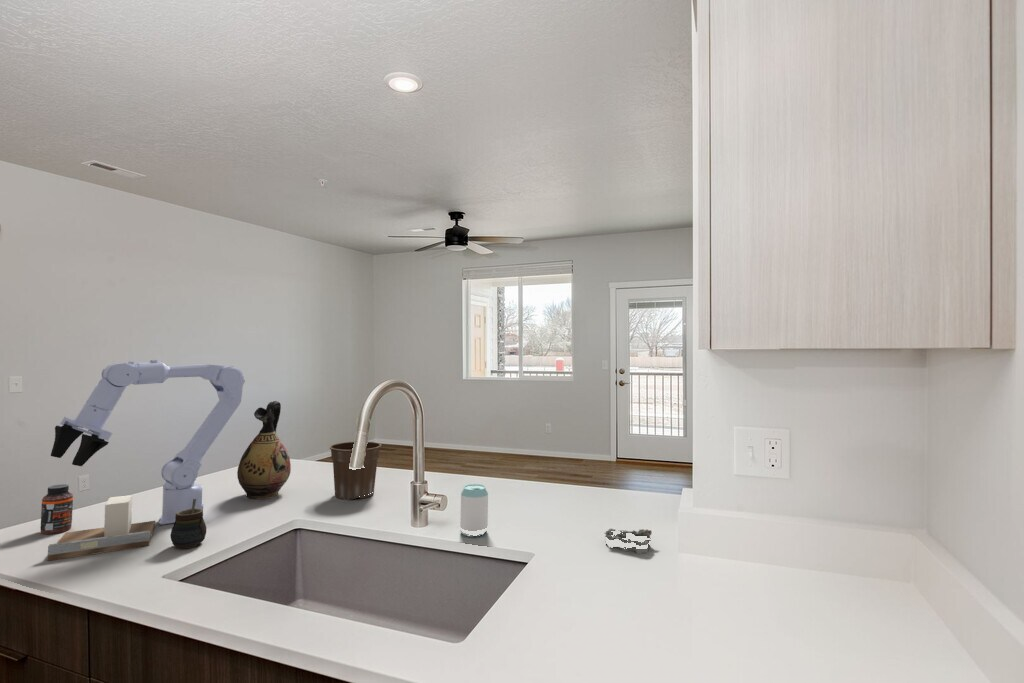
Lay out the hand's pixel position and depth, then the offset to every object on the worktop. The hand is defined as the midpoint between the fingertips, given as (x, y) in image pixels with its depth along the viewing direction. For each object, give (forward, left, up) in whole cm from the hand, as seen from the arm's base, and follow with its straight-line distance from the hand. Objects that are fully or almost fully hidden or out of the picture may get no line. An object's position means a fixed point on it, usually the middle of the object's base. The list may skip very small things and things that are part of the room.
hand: (66, 461), depth 121 cm
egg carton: (-117, +68, -20) cm, 137 cm away
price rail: (-9, +11, -18) cm, 23 cm away
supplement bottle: (+3, -11, -20) cm, 23 cm away
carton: (-11, +2, -18) cm, 21 cm away
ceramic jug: (-46, -22, -20) cm, 54 cm away
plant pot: (-71, -8, -20) cm, 74 cm away
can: (-89, +42, -20) cm, 100 cm away
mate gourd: (-26, +16, -20) cm, 36 cm away
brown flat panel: (-9, +4, -19) cm, 22 cm away
